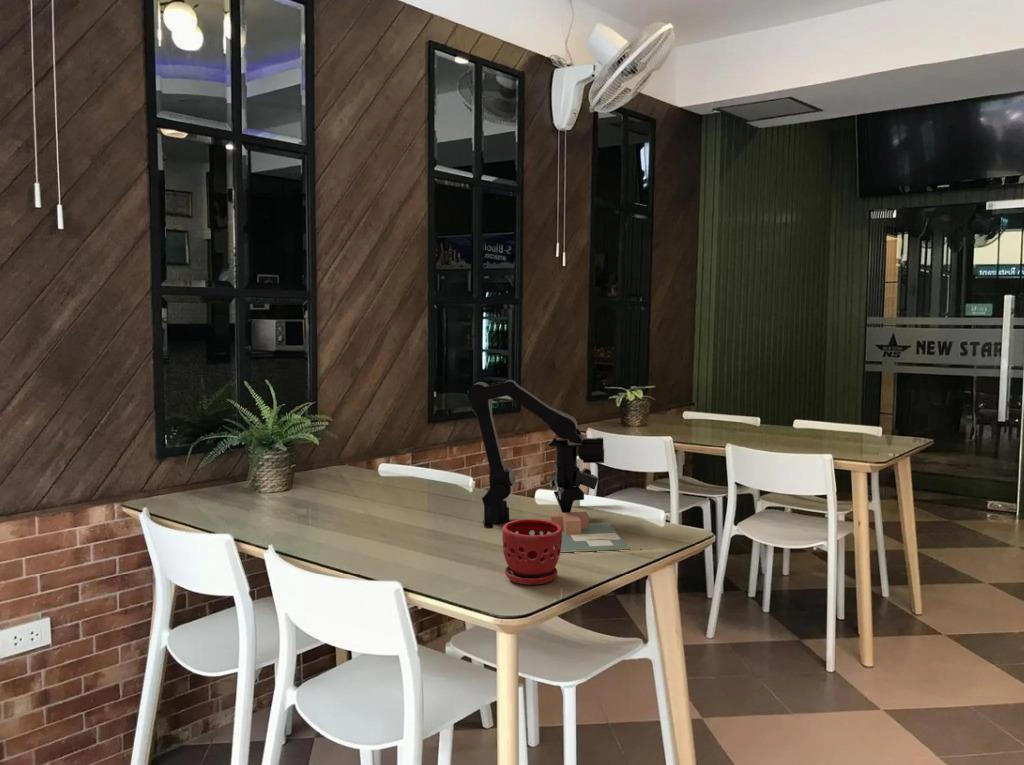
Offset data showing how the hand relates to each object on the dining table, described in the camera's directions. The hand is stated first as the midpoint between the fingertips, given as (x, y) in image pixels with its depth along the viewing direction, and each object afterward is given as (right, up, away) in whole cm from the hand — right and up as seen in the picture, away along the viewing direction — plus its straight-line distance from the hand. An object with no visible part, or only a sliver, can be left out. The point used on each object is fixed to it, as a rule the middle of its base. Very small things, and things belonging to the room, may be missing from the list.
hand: (566, 519), depth 231 cm
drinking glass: (+3, 0, +21) cm, 22 cm away
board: (+1, -3, -12) cm, 13 cm away
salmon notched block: (+1, -2, -6) cm, 6 cm away
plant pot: (-10, -7, -43) cm, 45 cm away
